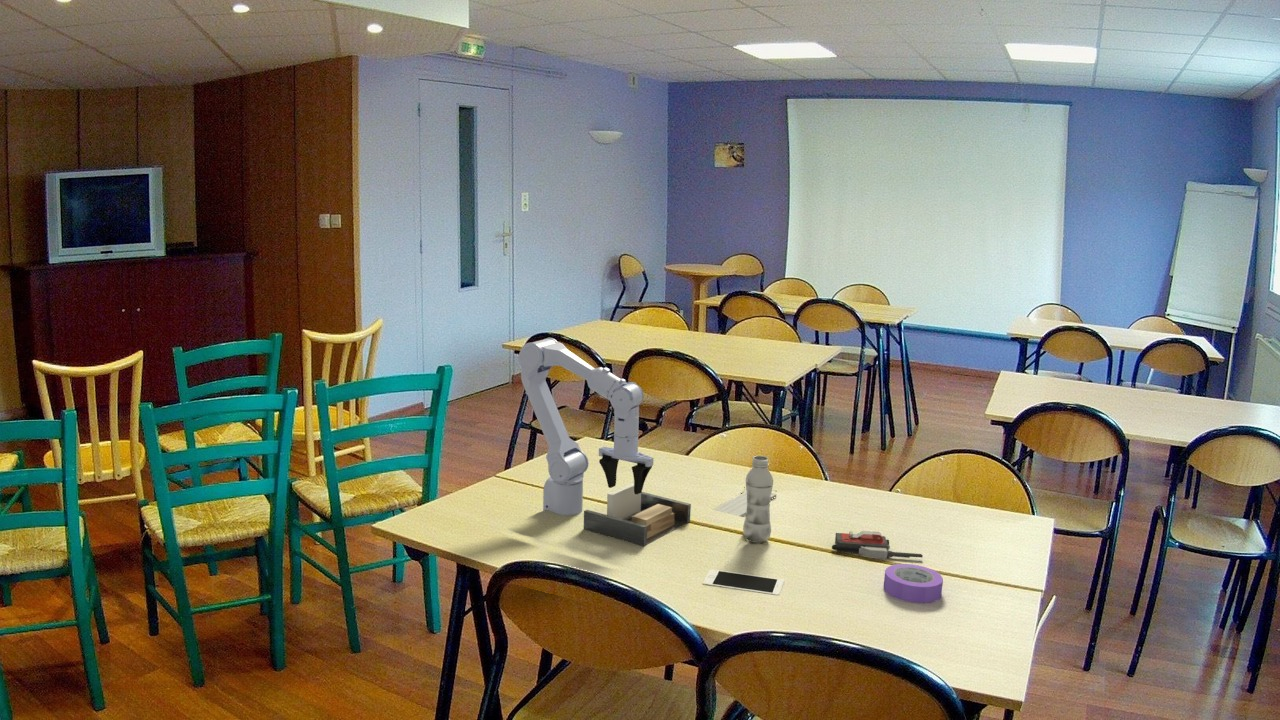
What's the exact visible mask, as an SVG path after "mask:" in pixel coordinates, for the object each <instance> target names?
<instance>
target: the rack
mask: <svg viewBox="0 0 1280 720" xmlns="http://www.w3.org/2000/svg"><path fill="white" fill-rule="evenodd" d="M657 504H661V505H665V506H669V507H672V513H674V525H672V526H670V527H668V528H667V529H665V530H663V531H661V532H659V533H657V534H655V535H653V536H651V537H649V538H647V526H646V525H642V524H639V523H635V522H632V516H634V515H636V514H638V513H640V512H642V511H644V510H646V509H648V508H650V507H652V506H655V505H657ZM691 507H692V505H691V503H689V502H684V501H681V500H677V499H673V498H668V497H664V496H660V495H657V494H652V493H650V492H649V493H648V492H644V491H642V493H641V511H639V512H637V513H635V514H633V515H631V516H629V517H627V518H624V519H620V518H616V517H613V516H609V515H607V514H605V513H601V512H596V511H595V510H594V511H593V510H590V509H586V510H583V530H584V531H588V532H591V533H595V534H598V535H601V536H605V537H609V538H611V539H612V538H613V539H616V540H620V541H622V542H623V541H624V542H627V543H630V544H632V545H637V546H639V547H640V546H641V547H645V546H647V545H649V544H651V543H653V542H655V541H656V540H659V539H661V538H662V537H664V536H666V535H668V534H670V533H673V531H675V530H677V529H680V528H681V527H683V526H685V525H686V524H689V523H690V522H691Z"/></svg>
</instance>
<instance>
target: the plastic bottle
mask: <svg viewBox="0 0 1280 720" xmlns="http://www.w3.org/2000/svg"><path fill="white" fill-rule="evenodd" d="M751 466H752V468H751V469H750V470H749V471H748V472H747V474H746V477H745V491H747V510H746V516H744V518H745V519H744V522H743V528H742V532H743V533H742V534H743V535H744V537H745V539H746V540H747V541H749V542H753V543H765V542H767V541H768V540H769V539H770V538H771V533H772V526H771V525H772V524H771V516H770V515H771V514H770V513H771V512H770V506H771V501H770V498H771V493H773V491H772V490H773V487H774V477H773V475H772V473H771V471H770V469H768V467H769V466H770V464H769V457H767V456H765V455H754V456H753V458H752V463H751Z"/></svg>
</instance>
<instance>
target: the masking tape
mask: <svg viewBox="0 0 1280 720" xmlns="http://www.w3.org/2000/svg"><path fill="white" fill-rule="evenodd" d="M943 584H944V578H943V576H942V575H941V574H940V573H939V572H937V571H936V570H934V569H932V568H929V567H927V566H922V565H919V564H913V563H910V564H909V563H898V564H897V563H896V564H893V565H892V564H891V565H890V566H887V567H886V568H885V570H884V579H883V591H884V592H885V593H886V594H887V595H889V596H890V597H892V598H894V599H896V600H900V601H904V602H906V603H907V602H908V603H913V604H914V603H916V604H928V603H935V602H937V601H938V600H940V599H941V597H942V593H943Z"/></svg>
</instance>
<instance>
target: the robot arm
mask: <svg viewBox="0 0 1280 720" xmlns="http://www.w3.org/2000/svg"><path fill="white" fill-rule="evenodd" d="M517 360H518V362H519V364H520V377H521V378H520V379H521V380H520V381H521V383H522V385H523V387H524V388H523V389H524V390H525V393H526V395H527V397H528V400H529V402H530V405H531V407H532V409H533V412H534V414H535V417H536V418H537V421H538V423H539V426H540V428H541V431H542V433H543V436H544V438H545V440H546V443H547V446H548V450H547V453H546V457H545V458H546V461H547V465H548V466H547V470H548V474H549V477H548V478H547V479H546V481H545V482H544V485H543V490H542V491H543V492H542V493H543V494H542V495H543V496H542V497H543V498H542V503H543V504H542V505H543V506H542V511H550V512H552V513H555V514H556V515H561V516H577V515H580V514H581V513H583V507H584V506H583V502H584V501H583V500H584V499H583V498H584V497H583V496H584V477H585V474H584V473H585V472H586V471H587V470H588V469H589V458H588V457H587V454H585V452H584V451H583V449H581V448H580V445H579V443H578V442H576V441H575V440H574V439H572V438H570V436H569V433H568V430H567V428H566V426H565V423H564V422H563V419H562V417H561V414H560V412H559V409H558V407H557V404H556V402H555V400H554V397H553V395H552V393H551V391H550V387H549V386H548V383H547V381H546V379H547V377H548V375H549V372H550V371H551V369H552V368H553V367H556V366H560V367H562V368H563V369H565V370H567V371H569V372H571V373H573V374H575V375H576V376H578V377H580V378H581V379H584V380H585V381H586V383H587V386H588V388H589V389H590V390H592V391H594V392H595V393H597V394H599V396H602V397H603V398H605V399H606V400H608V401H610V404H611V407H612V408H613V411H614V412H613V413H614V420H613V421H614V423H613V424H614V425H613V426H614V428H613V433H614V434H613V447H608V446H601V447H598V456H599V457H601V458H600V459H599V460H598V461H599V464H600V466H601V468H602V470H603V472H604V475H605V478H606V482H607V487H608V488H609V489H611V488H613V487H616V485H617V472H618V471H617V470H618V465H619V460H620V461H625V462H628V463H629V462H630V463H634V464H635V465H634V466H631V470H632V475H633V482H634V493H635V494H639V493H642V492H643V488H644V484H645V482H646V479H647V476H648V475H649V473H650V471H651V470H652V468H653V466H654V457H653V456H649V455H646V454H644V453H643V452H639V429H640V427H639V424H640V423H639V419H640V418H639V417H640V405H641V403H643V402H644V392H643V389H642V388H641V386H639V385H638V384H637V383H636V382H635V381H629V382H627V380H626V379H624V378H620V377H618V376H617V375H615V374H614V373H612V372H611V369H610V368H608V367H602V366H599V367H596V368H595V367H593V366H592V365H591V364H589V363H587V361H585V360H584V359H582V358H580V357H579V356H578V355H576V354H575V353H574V352H572V351H570V350H569V349H568V348H567V347H566V346H565V344H564V343H562V342H560V341H557V339H555V338H553V337H547V338H544V339H541V340H536V341H533V342H527V343H525V344H524V345H522V347H521V349H520V351H519V353H518V356H517Z"/></svg>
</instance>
